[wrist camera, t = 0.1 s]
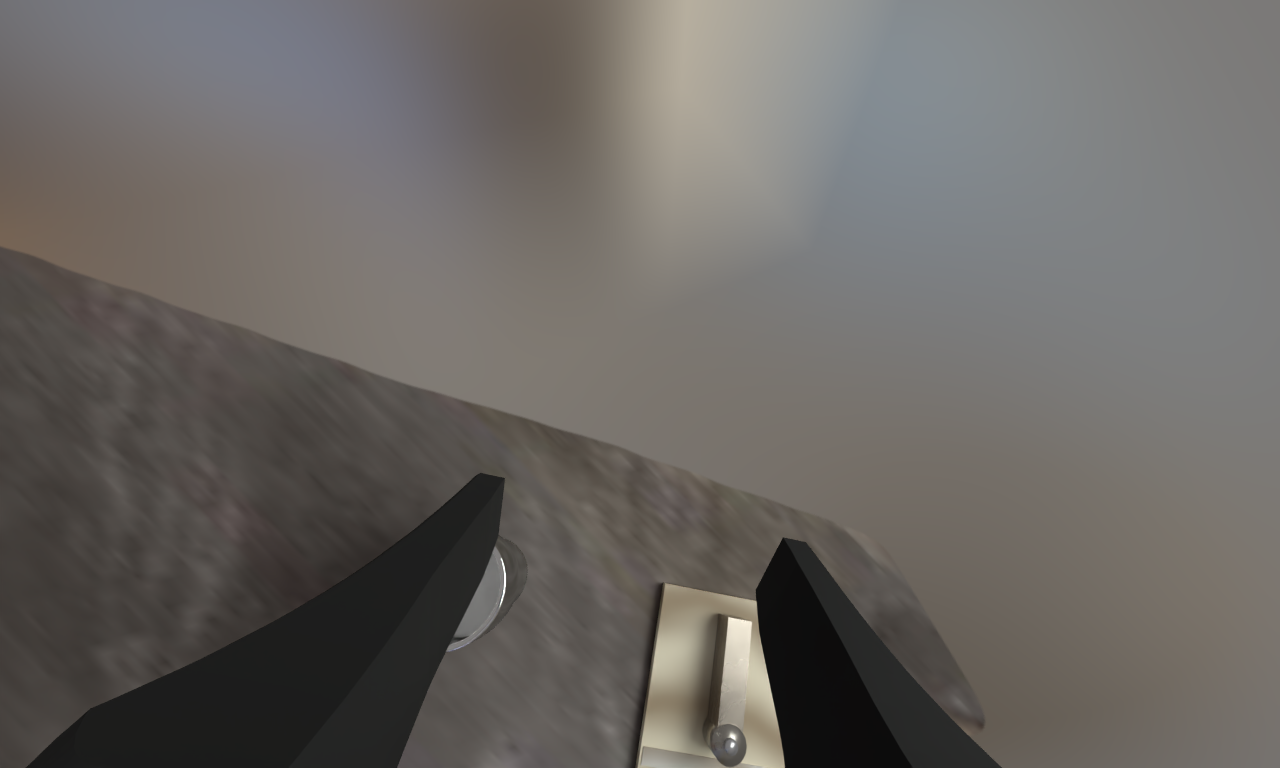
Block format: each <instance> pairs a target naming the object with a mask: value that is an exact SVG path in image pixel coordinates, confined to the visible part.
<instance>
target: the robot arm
mask: <svg viewBox="0 0 1280 768" xmlns="http://www.w3.org/2000/svg"><path fill="white" fill-rule="evenodd" d="M504 482H505V478H502V477H497V476H492V475H488V474H483V473H480V474H478V475H476V476H475V477H474V478H473V479H472V480H471V481H470V482H469V483H467V484H466V485H465V486H464V487H463V488H462V489H461V490H460V491H459V492H458V493H457V494H456V495H454V496H453V497H452V498H451V499H450V500H449V501H448V502H446V503H445V504H444V505H443V506H442V507H441V508H440V509H438V510H437V511H436V512H435V513H434V514H432V515H431V516H430V517H429V518H427V519H426V520H425V521H424V522H423V523H421V524H420V525H419V526H418V527H417V528H415V529H414V530H413V531H412V532H410V533H409V534H408V535H406V536H405V537H404V538H402V539H401V540H400V541H398V542H397V543H396V544H394V545H393V546H392V547H390V548H389V549H388V550H386V551H385V552H384V553H382V554H381V555H380V556H378V557H377V558H375V559H374V560H373V561H371V562H370V563H368V564H367V565H365V566H364V567H362V568H361V569H359V570H358V571H356V572H355V573H353V574H352V575H350V576H349V577H347V578H346V579H344V580H343V581H341V582H340V583H338V584H336V585H335V586H333V587H332V588H330V589H329V590H327V591H325V592H324V593H322V594H320V595H319V596H317V597H315V598H314V599H312V600H310V601H308V602H307V603H305V604H303V605H302V606H300V607H298V608H297V609H295V610H293V611H292V612H290V613H288V614H286V615H284V616H283V617H281V618H279V619H277V620H276V621H274V622H272V623H270V624H268V625H266V626H265V627H263V628H261V629H259V630H257V631H255V632H253V633H251V634H249V635H247V636H245V637H243V638H241V639H239V640H237V641H235V642H233V643H231V644H229V645H228V646H226V647H224V648H222V649H220V650H218V651H216V652H214V653H212V654H210V655H208V656H206V657H204V658H202V659H200V660H198V661H196V662H194V663H192V664H189V665H187V666H185V667H183V668H181V669H179V670H176V671H174V672H172V673H170V674H168V675H165V676H163V677H161V678H159V679H157V680H154V681H152V682H150V683H148V684H145V685H143V686H141V687H139V688H137V689H134V690H132V691H130V692H128V693H125V694H123V695H121V696H119V697H117V698H114V699H112V700H110V701H107V702H105V703H103V704H100V705H98V706H96V707H93V708H91V709H90V710H89V711H87V712H86V713H85V714H84V715H83V716H82V717H81V718H79V719H78V720H77V721H76V722H75V723H74V724H73V725H71V726H70V727H69V728H68V729H67V730H66V731H64V732H63V733H62V734H61V735H60V736H59V737H57V738H56V739H55V740H54V741H53V742H52V743H51V744H50V745H49V746H48V747H47V748H46V749H45V750H44V751H43V752H42V753H41V754H40V755H39V756H38V757H37V758H36V759H35V760H33V761H32V762H31V763H30V764H29V765H28V766H27V767H26V768H397V766H398V764H399V761H400V759H401V756H402V753H403V751H404V748H405V746H406V743H407V741H408V738H409V735H410V733H411V731H412V728H413V726H414V723H415V721H416V718H417V716H418V713H419V711H420V708H421V706H422V703H423V701H424V698H425V696H426V693H427V691H428V688H429V686H430V684H431V682H432V679H433V677H434V675H435V673H436V671H437V669H438V666H439V664H440V662H441V660H442V658H443V656H444V654H445V652H446V650H447V648H448V646H449V644H450V642H451V640H452V638H453V636H454V634H455V632H456V630H457V629H458V627H459V625H460V623H461V621H462V619H463V617H464V615H465V613H466V611H467V609H468V607H469V605H470V603H471V601H472V599H473V597H474V595H475V593H476V590H477V588H478V586H479V584H480V582H481V580H482V578H483V576H484V574H485V571H486V568H487V566H488V563H489V561H490V558H491V555H492V552H493V550H494V547H495V544H496V541H497V539H498V533H499V525H500V516H501V508H502V499H503V490H504ZM756 601H757V615H758V625H759V634H760V639H761V644H762V649H763V654H764V659H765V664H766V669H767V674H768V678H769V683H770V688H771V693H772V698H773V702H774V707H775V712H776V717H777V722H778V726H779V731H780V737H781V743H782V749H783V755H784V764H785V768H1002V767H1000V766H999V765H998V764H997V763H996V762H995V761H994V760H993V759H992V758H991V757H990V756H989V755H988V754H987V753H986V752H985V751H984V750H983V749H982V748H980V747H979V746H978V744H976V743H975V742H974V741H973V740H972V739H971V738H970V737H969V736H968V735H967V734H966V733H965V732H964V731H963V730H962V729H961V728H960V727H959V726H958V725H957V724H956V723H955V722H954V721H953V720H952V719H951V718H950V717H949V716H948V715H947V714H946V713H945V712H944V711H943V710H942V709H941V707H940V706H939V705H938V704H937V703H936V702H935V701H934V700H933V699H932V698H931V697H930V696H929V695H928V694H927V692H926V691H925V690H924V689H923V688H922V687H921V686H920V685H919V684H918V683H917V682H916V681H915V680H914V678H913V677H912V676H911V675H910V674H909V673H908V672H907V671H906V669H905V668H904V667H903V666H902V665H901V664H900V662H899V661H898V660H897V659H896V658H895V656H894V655H893V654H892V653H891V652H890V650H889V649H888V648H887V647H886V646H885V645H884V643H883V642H882V641H881V640H880V638H879V637H878V636H877V635H876V634H875V632H874V631H873V630H872V629H871V627H870V626H869V625H868V624H867V622H866V621H865V620H864V618H863V617H862V616H861V615H860V613H859V612H858V611H857V609H856V608H855V607H854V605H853V604H852V603H851V602H850V600H849V599H848V598H847V596H846V595H845V594H844V592H843V591H842V590H841V588H840V587H839V586H838V584H837V583H836V582H835V580H834V579H833V578H832V576H831V575H830V573H829V572H828V571H827V569H826V568H825V567H824V565H823V564H822V563H821V561H820V560H819V559H818V557H817V556H816V555H815V553H814V552H813V551H812V550H811V548H810V547H809V546H808V544H807V543H806V542H802V541H797V540H792V539H788V538H783V539H782V541H781V542H780V544H779V546H778V548H777V550H776V552H775V554H774V556H773V558H772V560H771V562H770V564H769V566H768V568H767V569H766V571H765V573H764V575H763V577H762V579H761V581H760V583H759V585H758V587H757V589H756Z"/></svg>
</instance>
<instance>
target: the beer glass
mask: <svg viewBox="0 0 1280 768" xmlns="http://www.w3.org/2000/svg"><path fill="white" fill-rule="evenodd" d="M527 573H528V569H527V562H526V559H525V556H524V554H523V553H522V551H521V550H520V549H519V547H518V546H517V545H515V544H514V543H513V542H511V541H509V540H506V539H504V538H503V537H501V536H500V535H498V539H497V541H496V544H495V547H494V550H493V552H492V555H491V558H490V561H489V563H488V566H487V568H486V571H485V574H484V576H483V578H482V580H481V582H480V584H479V586H478V588H477V590H476V593H475V595H474V597H473V599H472V601H471V603H470V605H469V607H468V609H467V611H466V613H465V615H464V617H463V619H462V621H461V623H460V625H459V627H458V629H457V630H456V632H455V634H454V636H453V638H452V640H451V642H450V644H449V646H448V648H447V650H446V652H450V651H454V650H457V649H459V648H462V647H464V646H466V645H468V644H469V643H471V642H473V641H475V640H477V639H479V638H481V637H483V636H484V635H485V634H487V633H488V632H490V631H491V630H492V629H493V628H495V627H496V626H497V625H498V624H499V623H500V622H501V621H502V619H503V618H504V617H505V616H506V614H507V613H508V612H509V610H510V609H511V607H512V605H513V603H514V602H515V601H516V600H517V599H518V597H519V596H520V594H521V593H522V591H523V589H524V587H525V584H526V580H527Z"/></svg>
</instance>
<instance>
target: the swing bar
mask: <svg viewBox="0 0 1280 768" xmlns="http://www.w3.org/2000/svg"><path fill="white" fill-rule="evenodd" d="M751 629H752V622H751V621H749V620H746V619H744V618H741V617H737V616H732V615H727V614H721V613H718V623H717V632H716V641H715V651H714V660H713V669H712V679H711V688H710V697H709V706H708V716H707V718H706V719H705V721H704V724H703V728H702V733H703V738H704V740H705V742H706V744H707V745H708V747H709V748H710V750H711V751H712V753H713V754H714V756H715V757H716V759H717V760H718V761H719V762H720V763H721V764H722V765H724V766H726V767H734V766H737V765H738V764H740V763H741V762H742V760H743V759H744V757H745V754H746V749H747V744H746V739H745V736H744V734H743V726H744V714H745V702H746V690H747V678H748V665H749V653H750V641H751Z"/></svg>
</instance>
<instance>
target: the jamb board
mask: <svg viewBox="0 0 1280 768" xmlns="http://www.w3.org/2000/svg"><path fill="white" fill-rule="evenodd" d="M718 613H721V614H727V615H732V616H737V617H741V618H744V619H746V620H749V621H751V622H752V629H751V641H750V653H749V665H748V678H747V690H746V702H745V714H744V726H743V734H744V736H745V739H746V744H747V749H746V754H745V757H744V759H743V760H742V762H741V763H740V764H738V765H737V766H734V767H726V766H724V765H722V764H721V763H720V762H719V761H718V760H717V759H716V757H715V756H714V754H713V753H712V751H711V750H710V748H709V747H708V745H707V744H706V742H705V740H704V738H703V733H702V728H703V724H704V721H705V719H706V718H707V716H708V706H709V697H710V688H711V679H712V669H713V660H714V651H715V641H716V632H717V623H718ZM635 768H785V764H784V755H783V749H782V743H781V737H780V731H779V726H778V722H777V717H776V712H775V707H774V702H773V698H772V693H771V688H770V683H769V678H768V674H767V669H766V664H765V659H764V654H763V649H762V644H761V639H760V634H759V625H758V615H757V601H754V600H749V599H744V598H738V597H733V596H728V595H723V594H718V593H713V592H708V591H703V590H698V589H693V588H688V587H682V586H677V585H672V584H667V583H663V588H662V595H661V601H660V608H659V614H658V621H657V628H656V634H655V641H654V648H653V654H652V661H651V667H650V674H649V681H648V687H647V694H646V700H645V707H644V714H643V720H642V727H641V734H640V740H639V747H638V753H637V760H636V767H635Z"/></svg>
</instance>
